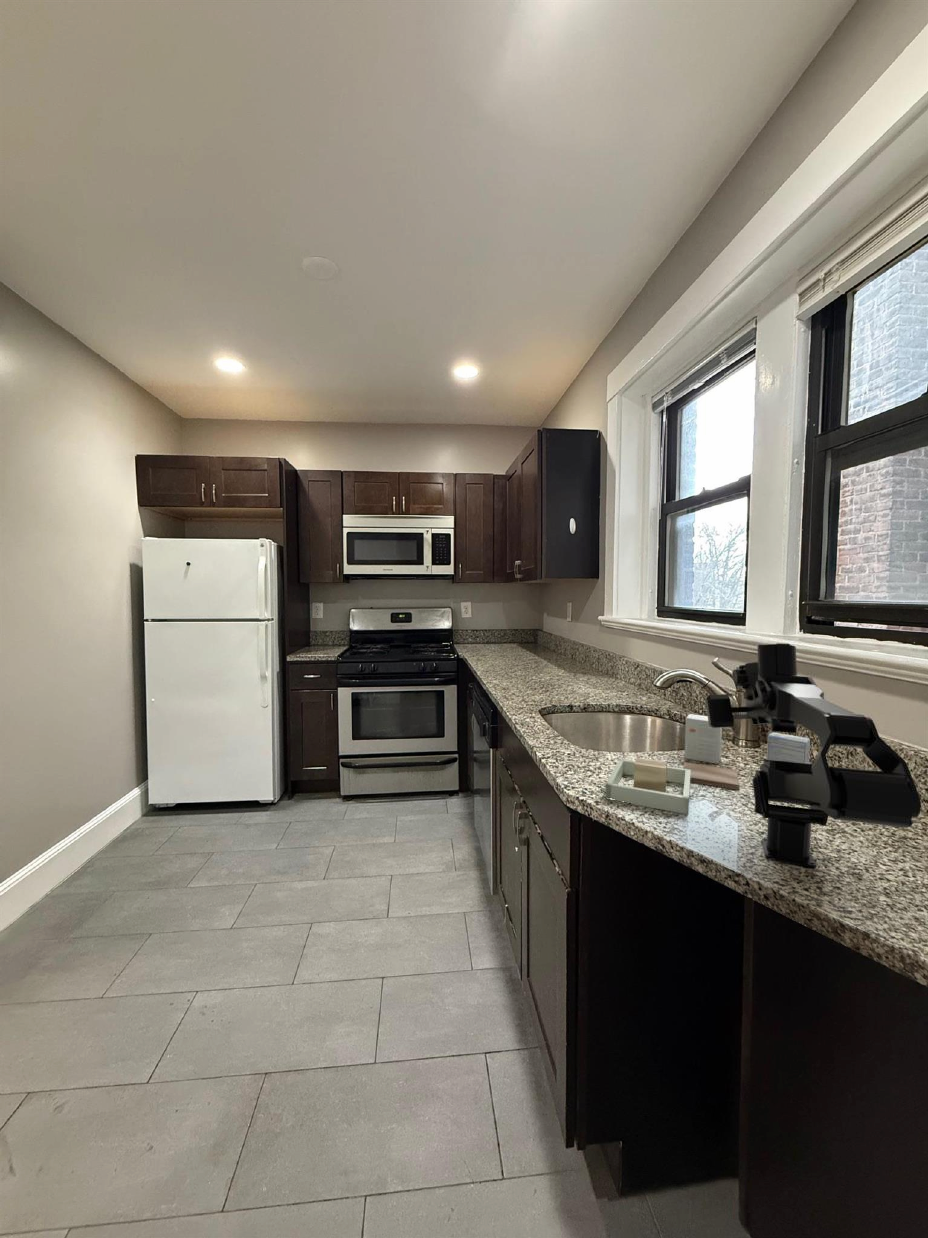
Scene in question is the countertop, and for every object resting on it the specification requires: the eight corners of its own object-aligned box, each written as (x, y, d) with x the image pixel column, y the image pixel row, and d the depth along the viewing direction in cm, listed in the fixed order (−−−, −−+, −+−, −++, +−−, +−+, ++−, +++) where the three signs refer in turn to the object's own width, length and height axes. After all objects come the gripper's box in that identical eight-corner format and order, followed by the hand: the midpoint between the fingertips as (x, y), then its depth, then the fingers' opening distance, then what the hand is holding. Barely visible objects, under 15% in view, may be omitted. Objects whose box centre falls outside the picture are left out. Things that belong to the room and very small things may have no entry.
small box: (721, 758, 128) (723, 717, 127) (718, 764, 123) (720, 722, 123) (687, 753, 132) (688, 713, 132) (683, 758, 127) (685, 717, 127)
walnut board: (739, 789, 107) (739, 785, 107) (682, 780, 111) (683, 776, 111) (736, 774, 117) (736, 769, 117) (684, 766, 121) (684, 762, 121)
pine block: (664, 797, 102) (665, 768, 101) (633, 792, 104) (634, 763, 104) (665, 790, 106) (667, 762, 105) (636, 785, 108) (637, 757, 108)
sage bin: (688, 814, 94) (688, 798, 93) (605, 799, 100) (606, 784, 100) (690, 783, 110) (690, 769, 110) (618, 771, 116) (619, 759, 116)
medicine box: (809, 775, 117) (811, 738, 117) (805, 780, 114) (807, 742, 114) (770, 766, 123) (772, 731, 122) (765, 771, 119) (767, 735, 119)
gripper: (823, 656, 88) (792, 669, 103) (708, 664, 93) (694, 676, 107) (837, 721, 85) (803, 725, 100) (718, 726, 90) (702, 729, 105)
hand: (749, 711), depth 103 cm, fingers open, 9 cm apart
